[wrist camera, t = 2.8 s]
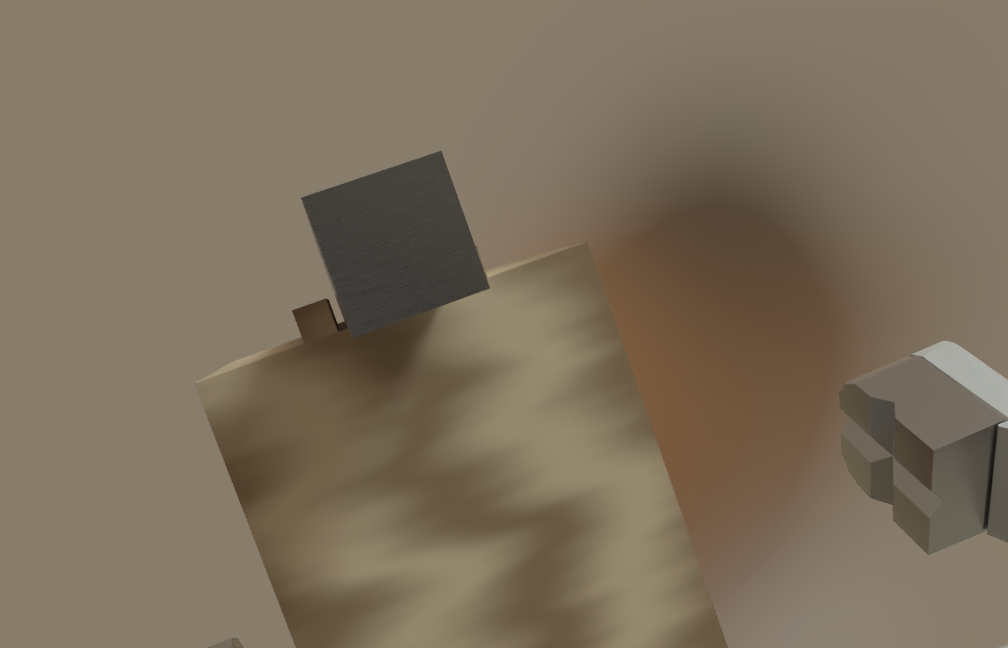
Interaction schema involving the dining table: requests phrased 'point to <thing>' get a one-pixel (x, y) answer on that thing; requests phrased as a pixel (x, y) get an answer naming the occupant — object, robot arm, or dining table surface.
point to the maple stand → (463, 476)
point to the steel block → (395, 244)
